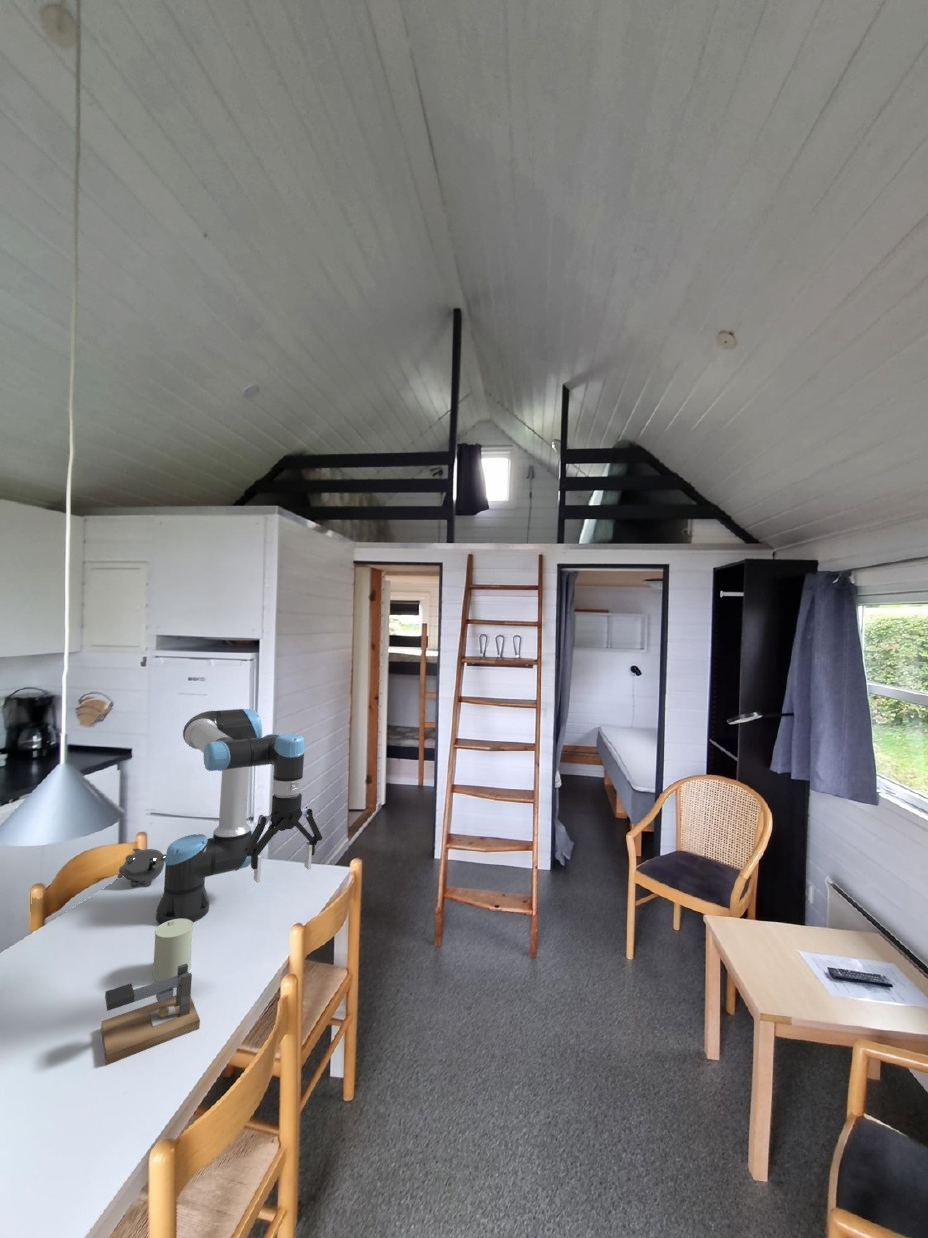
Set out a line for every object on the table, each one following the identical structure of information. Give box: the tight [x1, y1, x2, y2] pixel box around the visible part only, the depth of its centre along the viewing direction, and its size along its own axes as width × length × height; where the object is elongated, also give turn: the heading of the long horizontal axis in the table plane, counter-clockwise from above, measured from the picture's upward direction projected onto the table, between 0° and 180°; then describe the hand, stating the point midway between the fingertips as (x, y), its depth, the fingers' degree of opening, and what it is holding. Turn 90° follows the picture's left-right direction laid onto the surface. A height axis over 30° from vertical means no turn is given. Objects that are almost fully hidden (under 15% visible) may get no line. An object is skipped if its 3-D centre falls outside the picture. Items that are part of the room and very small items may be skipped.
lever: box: [104, 971, 189, 1012], centre depth 121 cm, size 5×17×4 cm, turn 129°
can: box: [151, 919, 194, 982], centre depth 142 cm, size 9×9×12 cm
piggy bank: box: [118, 847, 166, 888], centre depth 189 cm, size 11×15×12 cm
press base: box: [100, 963, 201, 1066], centre depth 122 cm, size 12×18×11 cm, turn 129°
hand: (282, 874), depth 141 cm, fingers open, 13 cm apart
